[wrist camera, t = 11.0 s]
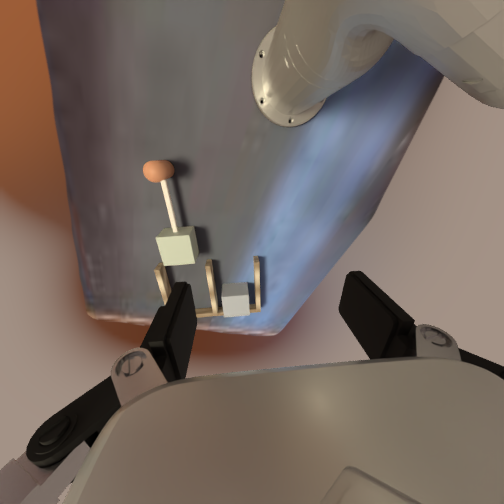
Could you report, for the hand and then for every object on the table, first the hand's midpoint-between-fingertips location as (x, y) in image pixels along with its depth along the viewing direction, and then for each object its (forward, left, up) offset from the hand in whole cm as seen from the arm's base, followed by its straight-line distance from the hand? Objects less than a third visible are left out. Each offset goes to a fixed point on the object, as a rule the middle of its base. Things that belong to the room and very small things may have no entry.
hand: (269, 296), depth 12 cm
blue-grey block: (+23, -3, -30) cm, 38 cm away
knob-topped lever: (+2, -14, -30) cm, 33 cm away
